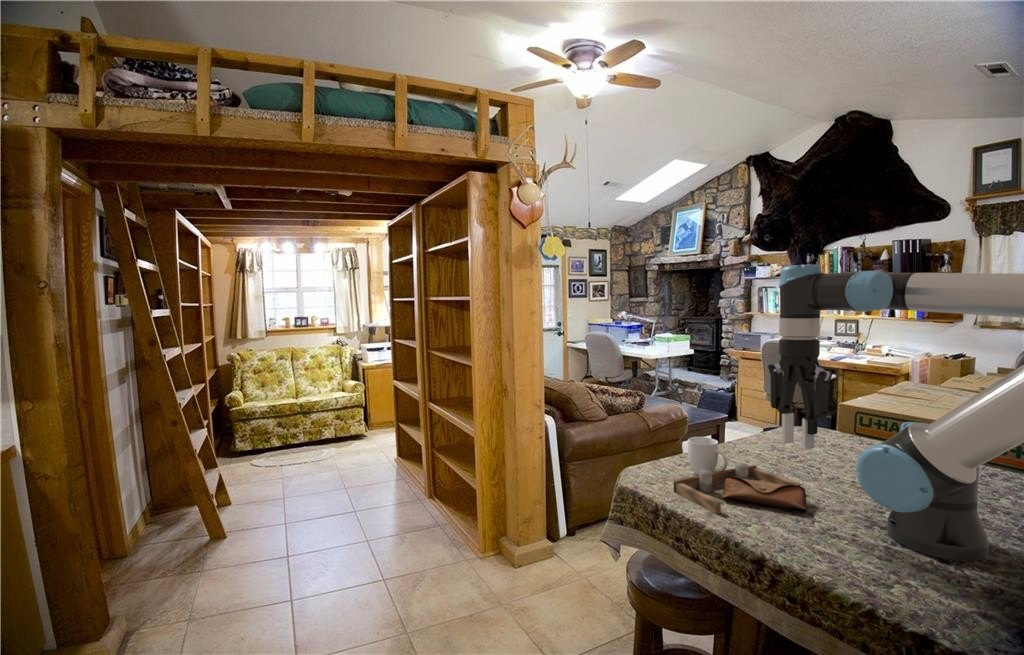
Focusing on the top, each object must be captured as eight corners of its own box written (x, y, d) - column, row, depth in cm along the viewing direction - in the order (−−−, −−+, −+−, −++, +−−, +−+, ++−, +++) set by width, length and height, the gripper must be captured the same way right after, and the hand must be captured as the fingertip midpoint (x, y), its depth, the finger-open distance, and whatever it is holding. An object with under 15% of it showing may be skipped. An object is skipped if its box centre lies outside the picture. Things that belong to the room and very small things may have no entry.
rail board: (800, 494, 120) (800, 474, 120) (715, 513, 111) (715, 492, 110) (753, 475, 133) (753, 457, 133) (673, 491, 124) (673, 472, 123)
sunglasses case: (720, 496, 116) (722, 469, 119) (722, 505, 121) (723, 478, 125) (809, 510, 108) (808, 480, 111) (807, 518, 113) (805, 489, 116)
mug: (733, 475, 134) (733, 442, 133) (720, 483, 128) (721, 448, 128) (695, 466, 141) (695, 435, 141) (682, 473, 136) (682, 440, 135)
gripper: (851, 339, 98) (849, 454, 99) (776, 334, 114) (775, 433, 115) (825, 341, 95) (823, 459, 96) (752, 336, 111) (751, 437, 112)
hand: (797, 445), depth 106 cm, fingers open, 4 cm apart
